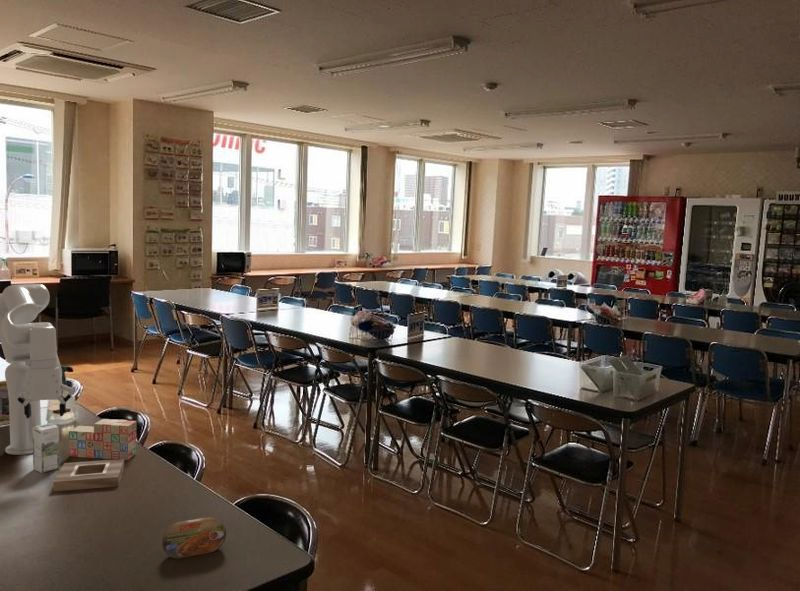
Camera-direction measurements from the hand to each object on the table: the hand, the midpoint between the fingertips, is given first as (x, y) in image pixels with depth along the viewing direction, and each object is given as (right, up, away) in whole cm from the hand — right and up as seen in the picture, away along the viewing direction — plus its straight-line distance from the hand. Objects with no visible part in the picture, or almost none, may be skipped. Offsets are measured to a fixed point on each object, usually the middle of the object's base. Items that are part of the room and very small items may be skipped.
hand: (45, 416), depth 210 cm
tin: (+64, -25, -49) cm, 84 cm away
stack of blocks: (+11, -17, +16) cm, 26 cm away
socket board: (+17, -19, -5) cm, 26 cm away
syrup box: (-1, -18, +2) cm, 18 cm away
